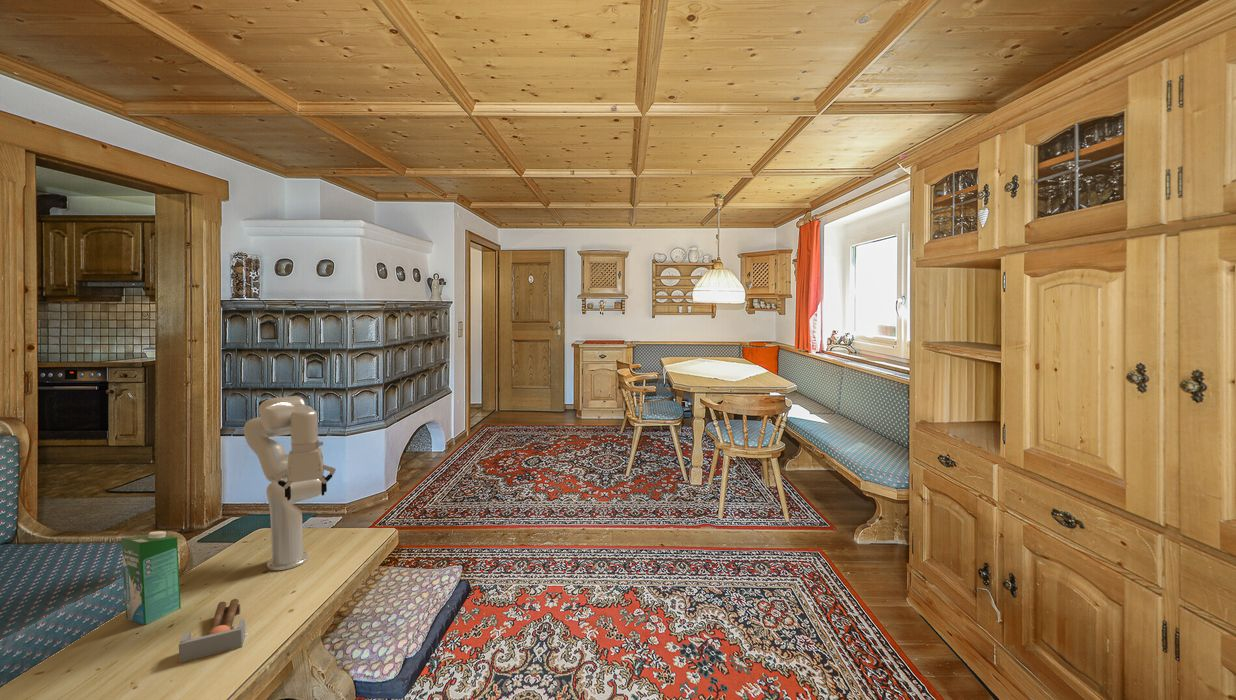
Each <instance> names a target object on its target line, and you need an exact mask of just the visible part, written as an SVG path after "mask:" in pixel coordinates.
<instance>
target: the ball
mask: <svg viewBox="0 0 1236 700" xmlns="http://www.w3.org/2000/svg"><path fill="white" fill-rule="evenodd" d="M228 630H231V629H230V628H229V627H228V626H226V625H224V624H222V625H221V624H220V626H217V627H215V628H214V629H213V630H212V631H211V632H210V633H209V632H208V633H209V635H211V634H215V633H219V632H223V631H228Z"/></svg>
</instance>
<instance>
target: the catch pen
mask: <svg viewBox="0 0 1236 700" xmlns="http://www.w3.org/2000/svg"><path fill="white" fill-rule="evenodd" d="M246 634H247V633H246V618H244V619H239V621H238V624H237V626H236V628H234V629H232V630H228V631H223V632H219V633H215V634H211V635H208V634H207V635H203V636H200V637H196V638H192V633H191V631H187V632H184V634H183V635H182V638H181V639H180V641H179V643H178V657H179V663H184V662H188V661H192V660H196V659H200V658H204V657H207V656H213V655H215V654H219V653H224V652H228V651H231V650H236V649H239V648H242V647H243V644H244V642H245V639H246V636H247V635H246Z"/></svg>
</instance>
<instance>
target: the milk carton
mask: <svg viewBox="0 0 1236 700" xmlns="http://www.w3.org/2000/svg"><path fill="white" fill-rule="evenodd" d="M178 543H179V542H178V537H177V536H172V535H169V534H167V531H161V530H159V531H157V530H156V531H155V530H154V531H150V532H149V533H148V534H140V535H134V536H125V537H121V553H122V554H121V555H122V570H123V571H122V573H123V591H124V605H125V606H124V607H125V619H127V620H128V621H131V622H135V623H137V624H139V625H140V624H141V625H142V626H147V625H148V624H150V623H153V622H154V621H156V620H158V619H161V618H163V617H164V616H167V615H168V614H169V615H170V614H171V613H173V612H175V610H176V611H177V609H178V610H180V609H181V608H182V607H181V590H180V589H181V587H180V569H179V568H180V567H179V565H180V564H179V546H178V545H179V544H178Z"/></svg>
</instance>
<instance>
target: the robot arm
mask: <svg viewBox="0 0 1236 700" xmlns="http://www.w3.org/2000/svg"><path fill="white" fill-rule="evenodd" d="M305 402H306V401H305V400H304V399H303V398H302V397H301V396H298V395H291V396H281V397H273V398H268V399H266V400H264V401H262V402H261V404H259V406H258V413H259V416H257V417H254V418H251V419H249V420H248V421H246V422H245V424H244V426H243V434H244V439H245V441H246V443H247V445H248V447H249V448H250V449H251V451H253V452H254V453H255V455H256V456H257V458H258V461H259V464H260V467H261V469H262V472H263V474H264V477H265V478H266V480H267V481H268V482H270V483H269V484H268V485H267V487H266V490H265V491H266V493H265V494H266V498H267V502H268V507H269V514H270V515H269V516H270V517H269V518H270V537H271V558H270V559H269V560H268V561H267V563H266V568H267V569H268V570H269V571H284V570H290V569H293V568H296V567H298V566H300V565H302V564H304V563H305V562H307V560H308V559H309V553H308V552H307V551H304V539H303V538H304V537H303V535H304V534H303V513H302V511H301V509H300V508H299V507H297V506H296V505H294V504H296V503H298V502H303V501H305V500H310V499H314V498H317V497H319V496H320V495H321V496H325V493H327V491H328V488H327V483H328V482H329V481H330V480H331V479H333V476H334V474H335V472H336V468H335V467H332V466H329V465H325V464H324V457H323V452H322V448H320V447H323V446H324V442H323V441H320V440H319V432H318V430H319V429H318V428H319V427H318V425H319V424H318V412H317V410H315V409H314V408H313V407H312V406H309V405H307V404H306V403H305ZM287 435H290V442H291V443H290V444H291V445H290V447H291V450H289V452H288V453H287V452H286V449H285V447H284V446H283V444H281V443H280V442H278V441H277V440H274V439H271V438H273V437H281V436H287ZM325 471H327V472H329V473H328V474H327V475H326V476H325V475H324V472H325Z"/></svg>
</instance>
